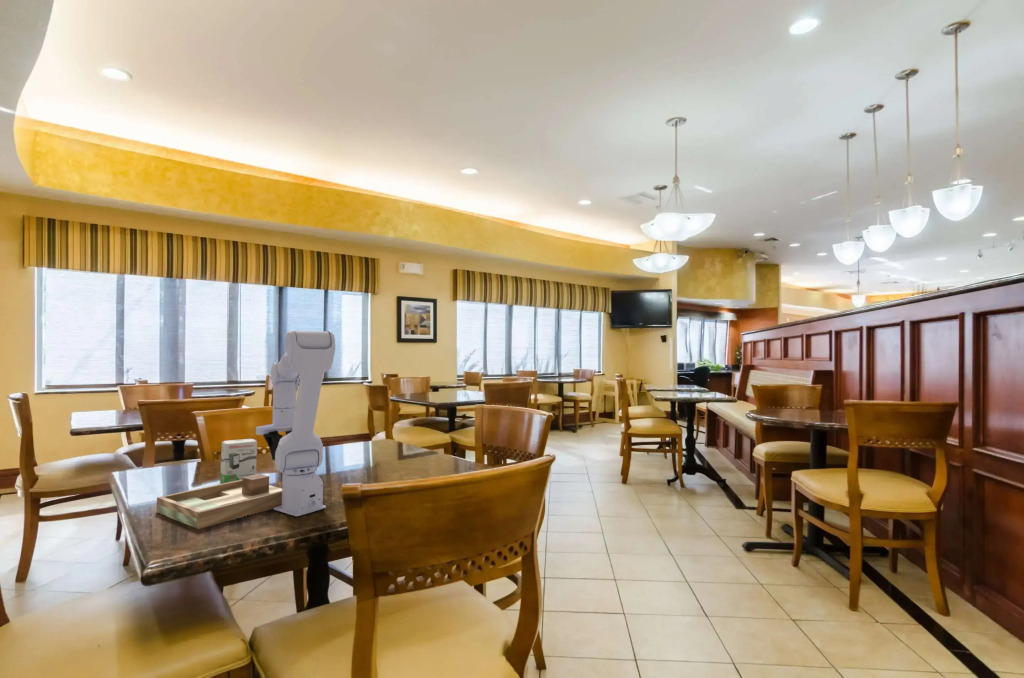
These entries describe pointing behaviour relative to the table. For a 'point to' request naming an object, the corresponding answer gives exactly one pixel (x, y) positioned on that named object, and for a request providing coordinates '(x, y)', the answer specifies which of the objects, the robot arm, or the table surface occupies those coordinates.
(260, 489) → the walnut block
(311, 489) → the robot arm
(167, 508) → the board
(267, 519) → the table surface
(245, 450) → the ink box
